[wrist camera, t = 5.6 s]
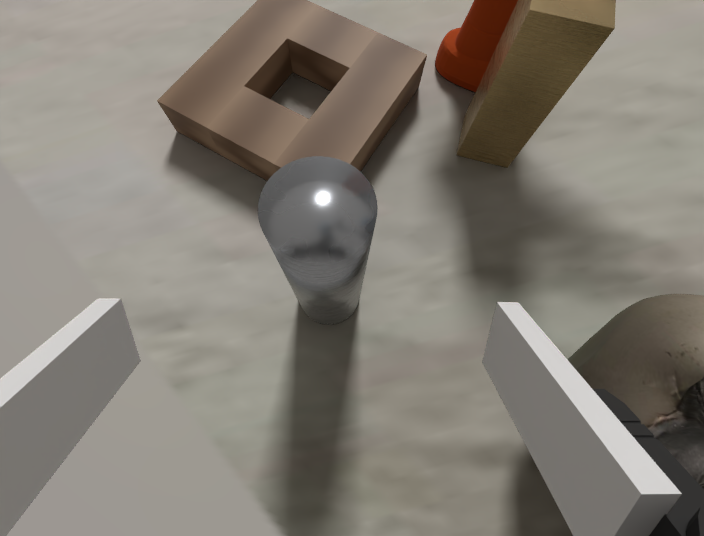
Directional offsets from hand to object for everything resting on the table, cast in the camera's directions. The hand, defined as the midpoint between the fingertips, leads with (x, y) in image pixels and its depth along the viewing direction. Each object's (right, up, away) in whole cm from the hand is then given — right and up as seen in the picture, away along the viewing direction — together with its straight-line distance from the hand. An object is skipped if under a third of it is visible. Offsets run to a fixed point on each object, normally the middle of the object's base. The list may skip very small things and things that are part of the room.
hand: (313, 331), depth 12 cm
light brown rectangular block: (+12, +12, +15) cm, 23 cm away
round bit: (0, +1, +10) cm, 10 cm away
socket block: (-3, +15, +15) cm, 22 cm away
